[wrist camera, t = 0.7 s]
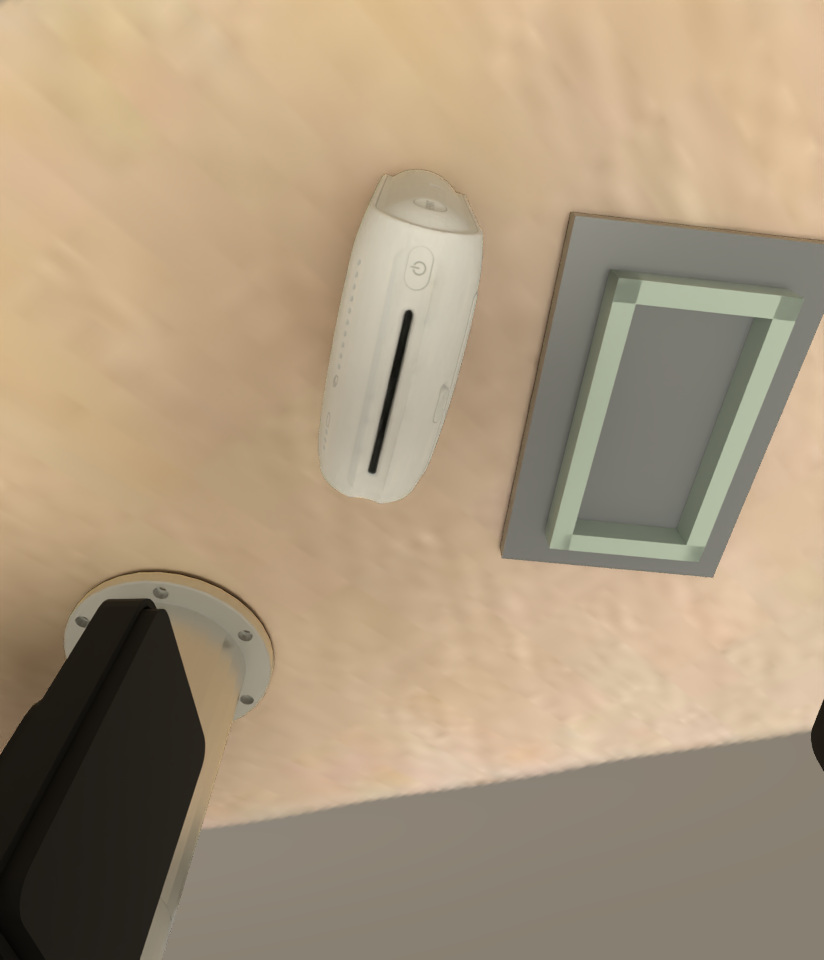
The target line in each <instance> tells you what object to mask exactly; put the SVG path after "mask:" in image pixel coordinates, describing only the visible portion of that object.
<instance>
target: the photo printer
mask: <svg viewBox="0 0 824 960" xmlns="http://www.w3.org/2000/svg"><path fill="white" fill-rule="evenodd" d="M482 258H483V232H482V230H481V228H480V226H479V224H478V221H477V219H476V217H475V215H474V213H473V211H472V209H471V207H470V204H469V202H468V200H467V197H466V196H465V195H464V194H459V193H456V192H455V191H454V189H453V188H452V187H451V186H450V184H449V183H448V182H447V181H446V180H444V179H443V178H442V177H440V176H439V175H437V174H435V173H433V172H430V171H426V170H407V171H404V172H401V173H399V174H397V175H395V176H390V175H388V174H385V175H383V176H382V178H381V180H380V181H379V183H378V185H377V188H376V190H375V192H374V194H373V196H372V198H371V200H370V203H369V205H368V207H367V210H366V212H365V215H364V217H363V219H362V222H361V225H360V227H359V230H358V233H357V235H356V238H355V242H354V245H353V249H352V253H351V257H350V261H349V266H348V270H347V274H346V279H345V283H344V287H343V292H342V297H341V302H340V307H339V311H338V316H337V321H336V327H335V332H334V337H333V343H332V349H331V354H330V360H329V365H328V371H327V377H326V384H325V390H324V396H323V404H322V411H321V418H320V427H319V437H318V452H319V462H320V468H321V472H322V474H323V476H324V478H325V480H326V481H327V482H328V483H329V484H330V485H331V486H332V487H333V488H334V489H336V490H337V491H339V492H341V493H342V494H344V495H346V496H348V497H361V498H366V499H369V500H372V501H375V502H377V503H380V504H383V503H391V502H394V501H398V500H400V499H402V498H404V497H406V496H407V495H408V494H409V493H411V491H412V490H413V489H414V487H415V486H416V484H417V483H418V481H419V480H420V478H421V476H422V475H423V474H424V473H425V471H426V469H427V467H428V464H429V462H430V460H431V457H432V455H433V452H434V449H435V447H436V444H437V441H438V438H439V435H440V433H441V430H442V427H443V424H444V421H445V418H446V414H447V411H448V408H449V405H450V402H451V398H452V395H453V392H454V389H455V385H456V382H457V378H458V375H459V371H460V367H461V364H462V360H463V356H464V353H465V348H466V345H467V340H468V336H469V333H470V329H471V324H472V320H473V315H474V311H475V306H476V301H477V296H478V286H479V282H480V275H481V267H482Z"/></svg>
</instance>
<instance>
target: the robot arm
mask: <svg viewBox="0 0 824 960" xmlns="http://www.w3.org/2000/svg"><path fill="white" fill-rule="evenodd" d="M63 646H64V651H65V656H66V661H65V663H64V665H63V666H62V668H61V669H60V671H59V673H58V674H57V676H56V678H55V679H54V681H53V682H52V684H51V686H50V687H49V689H48V691H47V692H46V694H45V696H44V697H43V699H42V700H40V701H39V702H37V703H36V704H34V705H33V706H32V707H31V709H30V710H29V711H28V713H27V714H26V715H25V716H24V718H23V720H22V721H21V723H20V724H19V726H18V728H17V729H16V731H15V732H14V734H13V736H12V737H11V739H10V740H9V742H8V744H7V745H6V747H5V748H4V750H3V752H2V753H1V755H0V960H162V959H163V955H164V952H165V948H166V945H167V941H168V938H169V935H170V932H171V929H172V925H173V922H174V919H175V915H176V912H177V908H178V905H179V901H180V898H181V895H182V891H183V888H184V884H185V881H186V877H187V874H188V871H189V867H190V864H191V861H192V857H193V854H194V850H195V847H196V844H197V840H198V837H199V833H200V830H201V827H202V823H203V820H204V816H205V813H206V810H207V806H208V803H209V799H210V796H211V793H212V789H213V786H214V782H215V779H216V776H217V772H218V769H219V765H220V762H221V759H222V755H223V752H224V748H225V745H226V742H227V738H228V735H229V731H230V728H231V724H232V722H233V721H235V720H237V719H239V718H241V717H242V716H244V715H246V714H247V713H248V712H249V711H251V710H252V709H253V708H254V707H256V706H257V704H258V703H259V702H260V700H261V699H262V698H263V697H264V695H265V693H266V690H267V688H268V686H269V683H270V679H271V675H272V671H273V650H272V646H271V642H270V639H269V637H268V635H267V633H266V631H265V629H264V627H263V625H262V624H261V623H260V621H259V620H258V619H257V618H256V616H255V615H254V614H253V613H252V612H251V611H250V610H249V609H248V608H247V607H246V606H245V605H243V604H242V603H241V602H240V601H239V600H238V599H236V598H235V597H233V596H231V595H230V594H228V593H227V592H225V591H223V590H222V589H220V588H218V587H216V586H213V585H211V584H209V583H206V582H204V581H202V580H198V579H195V578H191V577H187V576H184V575H180V574H172V573H164V572H139V573H134V574H128V575H123V576H119V577H116V578H114V579H111V580H108V581H106V582H103V583H102V584H100V585H99V586H97V587H95V588H94V589H92V590H91V591H89V592H88V593H87V594H86V595H85V597H84V598H83V599H82V600H81V601H80V602H79V603H78V605H77V606H76V608H75V609H74V611H73V612H72V614H71V615H70V617H69V619H68V622H67V625H66V628H65V630H64V642H63ZM811 742H812V748H813V751H814V754H815V756H816V758H817V760H818V762H819V763H820V765H821V767H822V769H823V771H824V700H823V703H822V705H821V708H820V710H819V713H818V715H817V718H816V720H815V723H814V725H813V728H812V732H811Z"/></svg>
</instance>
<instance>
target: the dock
mask: <svg viewBox="0 0 824 960" xmlns="http://www.w3.org/2000/svg"><path fill="white" fill-rule="evenodd" d="M823 314H824V241H820V240H811V239H802V238H794V237H785V236H776V235H767V234H759V233H750V232H741V231H733V230H724V229H715V228H707V227H698V226H689V225H681V224H672V223H663V222H654V221H646V220H637V219H628V218H620V217H611V216H602V215H594V214H585V213H576V212H571V214H570V219H569V223H568V228H567V233H566V238H565V242H564V247H563V252H562V256H561V261H560V266H559V271H558V275H557V280H556V285H555V290H554V294H553V299H552V304H551V308H550V313H549V318H548V323H547V327H546V332H545V337H544V342H543V346H542V351H541V356H540V361H539V365H538V370H537V375H536V379H535V384H534V389H533V394H532V398H531V403H530V408H529V413H528V417H527V422H526V427H525V432H524V436H523V441H522V446H521V450H520V455H519V460H518V465H517V469H516V474H515V479H514V484H513V488H512V493H511V498H510V503H509V507H508V512H507V517H506V521H505V526H504V531H503V536H502V540H501V545H500V551H501V556H502V558H505V559H516V560H527V561H538V562H549V563H560V564H571V565H581V566H592V567H603V568H614V569H625V570H636V571H647V572H658V573H669V574H680V575H691V576H702V577H713V576H714V574H715V571H716V569H717V566H718V564H719V562H720V559H721V557H722V554H723V552H724V550H725V547H726V545H727V543H728V540H729V538H730V535H731V533H732V531H733V528H734V526H735V523H736V521H737V519H738V516H739V514H740V512H741V509H742V507H743V504H744V502H745V500H746V497H747V495H748V493H749V490H750V488H751V485H752V483H753V481H754V478H755V476H756V473H757V471H758V469H759V466H760V464H761V462H762V459H763V457H764V454H765V452H766V450H767V447H768V445H769V442H770V440H771V438H772V435H773V433H774V431H775V428H776V426H777V423H778V421H779V419H780V416H781V414H782V411H783V409H784V407H785V404H786V402H787V400H788V397H789V395H790V392H791V390H792V388H793V385H794V383H795V380H796V378H797V376H798V373H799V371H800V369H801V366H802V364H803V361H804V359H805V357H806V354H807V352H808V349H809V347H810V345H811V342H812V340H813V338H814V335H815V333H816V330H817V328H818V326H819V323H820V321H821V318H822V316H823Z"/></svg>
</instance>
